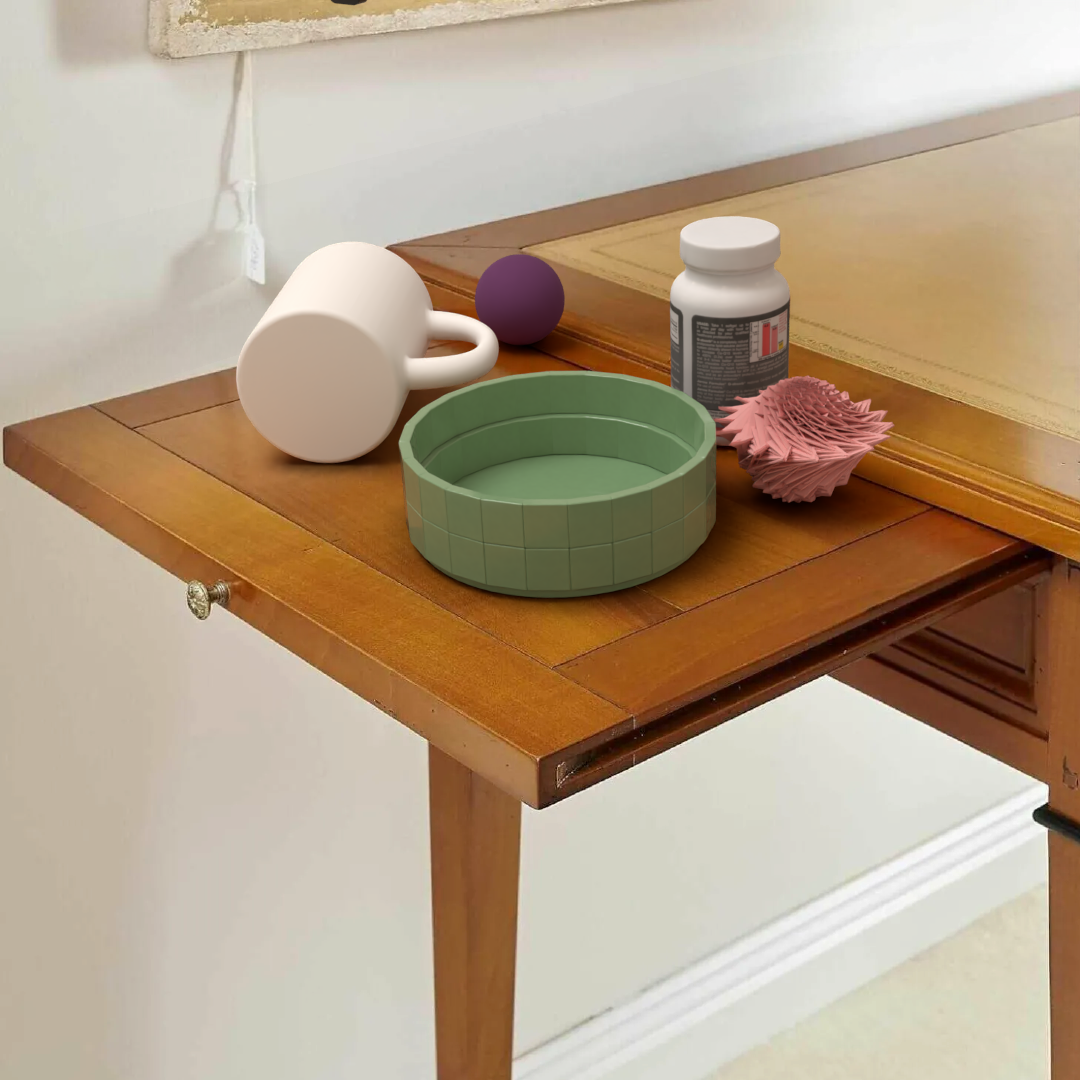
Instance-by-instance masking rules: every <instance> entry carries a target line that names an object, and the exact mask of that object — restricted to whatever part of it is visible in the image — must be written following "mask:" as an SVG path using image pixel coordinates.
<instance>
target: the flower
mask: <svg viewBox="0 0 1080 1080" xmlns="http://www.w3.org/2000/svg"><path fill="white" fill-rule="evenodd" d="M815 377H816V376H812V377H811V376H810V375H805V376H792V377H790V378H788V379H785V380H780V381H779V383H777V384H775V385H772V386H768V387H767V390H764V391H763V390H759V393H760V395H759V396H757V397H751V398H741V397H738V396H737V397H736V398H734V399H736V400H738V401H740V402H741V403H743V404H744V405H739V406H733V407H720V406H718V408H719V409H720V410H722V411H725V412H727V413H729V414H731V415H729V416H727V417H725V418H719V419H718V418H715V419H713V420H714V421H715V422H719V423H720V424H721V425H723V426H724V427H725V428H724V429H723V430H721V431H716V435H720V436H722V437H723V438H725V439H727V440H729V441H730V442H731V444H729V446H728V447H733V448H735V449H736V451H737V458H738V462H737V463H738V465H739V468H740V469H743V470H745V473H746V474H749V476H751V481H752V482H753V483H752V488H753V489H757V490H762V494H768V495H771V498H772V499H774V500H775V499H781V501H782V503H785V502H786V503H792V502H795V503H798V504H800V503H801V502H807V503H813V502H814V501H815V500H816V498H819V497H831V496H832V494H833V491H834V489H835V487H839V486H846V485H847V484H848V482H849V479H850V477H851V473H852V471H853V470H854V469H856V468H857V465H858V464H859V462H861V460H862V459H863V458H864V457H865V456H866V455H867V453H870V452H873V451H875V446H877V445H879V444H881V443H883V442H885V441H887V440H888V439H890V438H891V435H888V434H885V433H886V432H888V431H889V430H891V429H893V428H894V427H895V424H894V423H893V421H887V422H886V421H883V420H884V419H885V417H886V416H887V414H888V412H889V411H888V410H884V409H881V410H880V409H879V410H873V411H870V407H871V403H872V399H871V398H868V399H864V400H861V401H858V402H853V401H852V400H851V399H850V395H849V392H848V391H846V390H844V391H842V392H840V390H838V389H837V386H836V384H833V383H831V384H830V382H828V380H825V379H824V380H821V379H820V378H818V377H816V378H815Z"/></svg>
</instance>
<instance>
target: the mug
mask: <svg viewBox="0 0 1080 1080" xmlns="http://www.w3.org/2000/svg"><path fill="white" fill-rule="evenodd" d="M431 341H459V342H460V341H463V342H467V343H471V344H473V345H475V346H476V347H475V348H474V349H471V350H470V351H467V352H463V353H459V354H452V355H446V356H436V357H425V356H426V353H427V351H428V349H429V347H430V345H431ZM499 349H500V347H499V340H498V339H497V337H496V335H495V334H494V332H493V331H492V330H491V329H490V328H489V327H488V326H487V325H485V324H484V323H482V322H480V320H479V319H476V318H474V317H470V316H467V315H465V314H460V313H455V312H449V311H441V310H434V306H433V303H432V299H431V296H430V293H429V291H428V288H427V286H426V285H425V283H424V281H423V279H422V278H421V276H420V275H419V274H418V272H417V271H415V269H414V268H413V267H412V266H411V265H410V264H409V263H408V262H407V261H406V260H405V259H404V258H402V257H400V256H399V255H397V254H396V253H395V252H393V251H391V250H389V249H387V248H385V247H382V246H379V245H377V244H373V243H369V242H364V241H342V242H337V243H332V244H328V245H326V246H323V247H321V248H319V249H317V250H316V251H314V252H312V253H310V254H309V255H308V256H307V257H305V258H304V259H303V260H302V261H301V262H300V263H299V264H298V265H297V267H296V268H295V269H294V271H293V272H292V274H291V275H290V277H288V280H287V281H286V282H285V283H284V285H283V286H282V288H281V289H280V291H279V292H278V294H277V295H276V297H275V298H274V299H273V301H272V302H271V304H270V305H269V307H268V308H267V310H266V311H265V312H264V314H263V315H262V317H261V318H260V319H259V321H258V323H257V324H256V325H255V327H254V328H253V330H252V331H251V333H250V334H249V336H248V337H247V338H246V340H245V342H244V344H243V346H242V348H241V350H240V353H239V356H238V360H237V363H236V371H235V373H236V374H235V381H236V389H237V390H236V391H237V394H238V398H239V401H240V404H241V407H242V409H243V411H244V414H245V416H246V417H247V419H248V420H249V422H250V423H251V425H252V426H253V428H254V429H255V430H256V431H257V432H258V433H259V435H261V436H262V437H263V439H265V440H266V441H267V442H268V443H270V444H271V445H272V446H274V447H275V448H276V449H278V450H280V451H282V452H284V453H285V454H287V455H290V456H292V457H294V458H296V459H300V460H304V461H307V462H313V463H319V464H335V463H337V464H338V463H344V462H349V461H353V460H355V459H358V458H360V457H362V456H364V455H366V454H368V453H370V452H372V451H373V450H375V449H376V448H377V447H378V446H379V445H380V444H382V443H383V442H384V441H385V440H386V439H387V437H388V436H389V435H390V433H391V432H392V431H393V429H394V427H395V426H396V423H397V421H398V420H399V417H400V414H401V412H402V410H403V408H404V406H405V403H406V401H407V398H408V396H409V393H410V391H418V390H419V391H420V390H432V389H433V390H434V389H442V388H448V387H453V386H459V385H463V384H467V383H470V382H474V381H476V380H478V379H480V378H483V377H484V376H486V375H487V374H488V373H490V372H491V371H492V369H493V368H494V367H495V365H496V363H497V361H498V359H499V351H500V350H499Z"/></svg>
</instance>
